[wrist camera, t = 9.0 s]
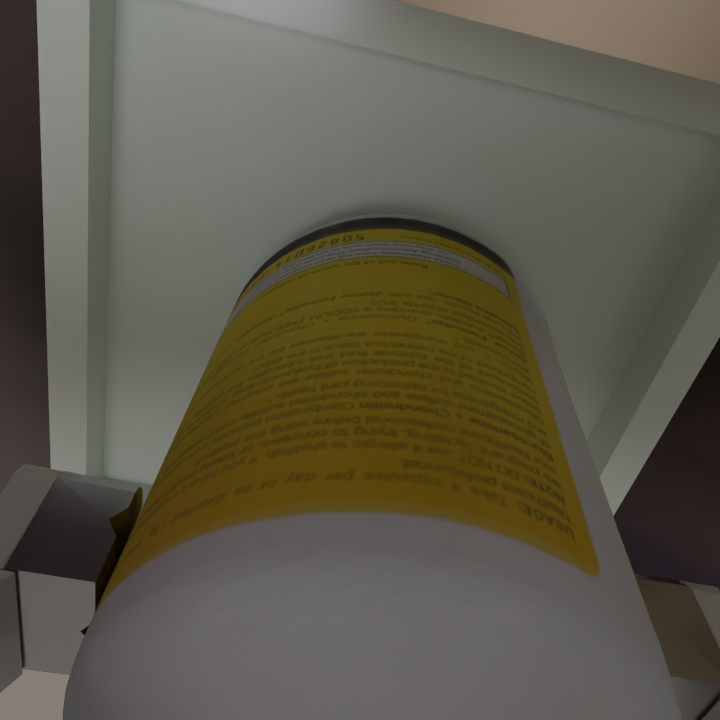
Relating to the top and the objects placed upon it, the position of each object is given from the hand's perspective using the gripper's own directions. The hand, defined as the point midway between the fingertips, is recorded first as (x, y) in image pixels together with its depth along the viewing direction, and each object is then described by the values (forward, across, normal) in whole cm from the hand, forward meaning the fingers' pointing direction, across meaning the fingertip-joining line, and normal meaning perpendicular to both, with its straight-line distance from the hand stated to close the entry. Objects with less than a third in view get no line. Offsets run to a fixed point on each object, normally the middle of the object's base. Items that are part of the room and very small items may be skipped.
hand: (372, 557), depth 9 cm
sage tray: (+7, 0, 0) cm, 7 cm away
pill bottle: (+6, 0, 0) cm, 6 cm away
